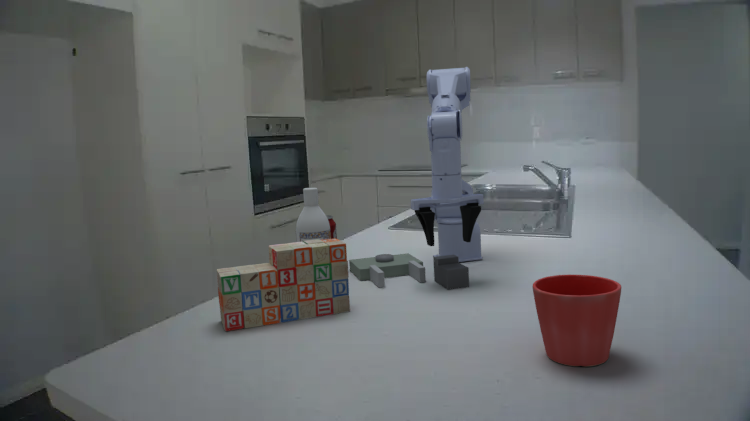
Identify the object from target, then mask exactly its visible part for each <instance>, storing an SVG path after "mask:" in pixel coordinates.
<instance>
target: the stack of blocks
mask: <svg viewBox="0 0 750 421" xmlns="http://www.w3.org/2000/svg"><path fill="white" fill-rule="evenodd" d="M347 251H348V250H347V242H344V241H342V240H341V239H338V238H337V239H336V238H334V239H324V240H319V239H315V240H306V241H303V242H297V241H295V242H288V243H287V242H286V243H278V244H271V245H270V244H269V245H268V262H263V263H257V264H255V263H254V264H247V265H239V266H237V265H236V266H232V267H231V266H230V267H222V268H217V269H216V278H217V293H218V303H219V311H220V312H219V313H220V321H221V323H222V327H223V329H224V331H225V332H231V331H237V330H242V329H249V328H255V327H256V328H257V327H261V326H268V325H274V324H276V325H277V324H280V323H286V322H287V323H288V322H292V321H297V320H298V321H299V320H305V319H310V318H318V317H322V316H328V315H335V314H341V313H348V312H350V311H351V306H350V305H351V303H350V295H349V294H350V288H349V284H350V283H349V277H350V276H349V261H348V254H347Z"/></svg>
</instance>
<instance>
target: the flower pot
mask: <svg viewBox="0 0 750 421" xmlns="http://www.w3.org/2000/svg"><path fill="white" fill-rule="evenodd" d="M532 292H533V293H532V294H533V299H534V304H535V310H536V314H537V315H536V316H537V320H538V324H539V329H540V332H541V337H542V342H543V344H544V345H543V346H544V350H545V355H546V356H547V357H548V358H549V359H550V360H551V361H553V362H555V363H557V364H562V365H565V366H570V367H580V366H582V367H594V366H599V365H602V364H604V363H606V362H607V361H608V359H610V358H609V357H610V352H611V348H612V343H613V340H614V335H615V329H616V323H617V318H618V312H619V306H620V302H621V301H620V300H621V295H622V285H621V283H620V282H618V281H616V280H613V279H611V278H607V277H603V276H602V277H601V276H596V275H591V274H589V275H588V274H556V275H550V276H545V277H542V278H541V277H540V278H538V279H537V280H535V281H534V282H533V283H532Z"/></svg>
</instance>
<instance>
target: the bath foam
mask: <svg viewBox="0 0 750 421" xmlns="http://www.w3.org/2000/svg"><path fill="white" fill-rule="evenodd" d="M302 192H303V193H302V194H303V204H304V206H303V208H302V210H301V212H300V213H299V216H298V218H297V220H296V224H295V226H296V227H295V236H296V242H303V241H306V240H315V239H319V240H324V239H331V232H330V225H329V221H328V219H327V217H326V215H327V214H326V213H325V212H324V210H323V209H322V208H321V207H320V204H319V190H318V188H317V187H305V188H303V189H302Z"/></svg>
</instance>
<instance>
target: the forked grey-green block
mask: <svg viewBox="0 0 750 421" xmlns="http://www.w3.org/2000/svg"><path fill="white" fill-rule="evenodd" d="M348 265H349V271H350V272H351V274H353V275H354V276H355V277H356V278H357V279H358V280H359V281H361V282H362V281H368V280H369V281H370V282H372V283H373V284H375V286H377V287H378V288H379V289H380V288H386V281H385V278H386V277H387V278H394V276H395V277H402V276H410V277H411V278H413V279H414V280H415V281H417V282H418V283H420V284H421V283H426V282H427V281H426V280H427V278H426V276H427V275H426V266H424V262H423V261H422V260H420V259H419V258H417V257H415V256H414V255H412V254H411V253H409V252H408V253H407V252H406V253H398V254H390V253H388V254H387V253H383V254H377V255H375V256H373V257H370V256H369V257H365V258H361V257H360V258H355V259H354V258H353V259H349V261H348Z"/></svg>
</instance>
